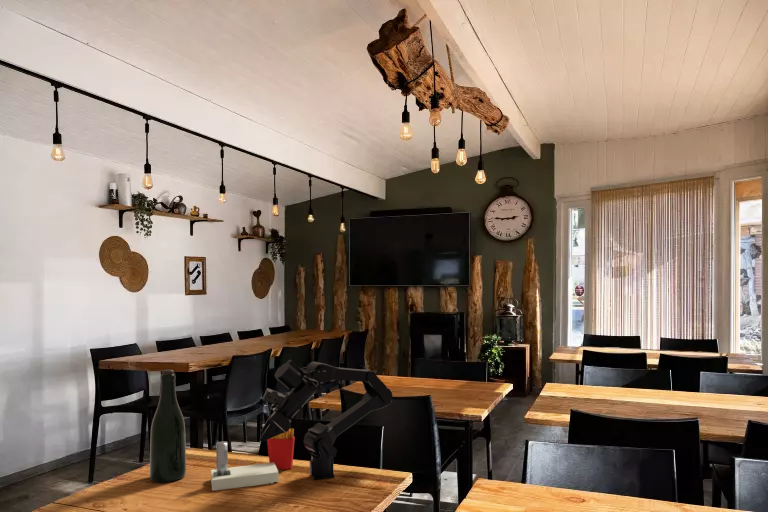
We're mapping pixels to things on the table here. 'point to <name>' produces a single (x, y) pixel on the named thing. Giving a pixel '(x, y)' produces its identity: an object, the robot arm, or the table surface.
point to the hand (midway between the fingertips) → (261, 436)
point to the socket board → (245, 476)
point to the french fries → (281, 449)
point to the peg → (222, 458)
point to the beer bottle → (167, 435)
